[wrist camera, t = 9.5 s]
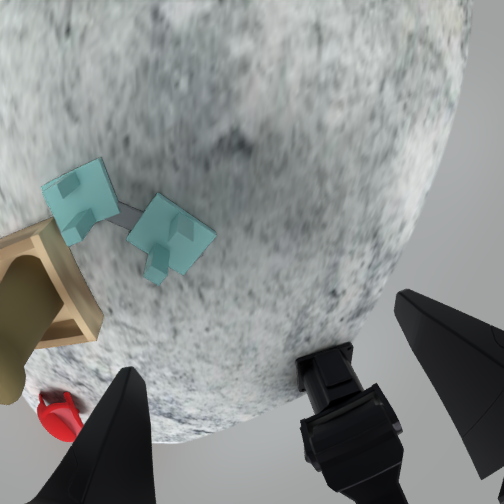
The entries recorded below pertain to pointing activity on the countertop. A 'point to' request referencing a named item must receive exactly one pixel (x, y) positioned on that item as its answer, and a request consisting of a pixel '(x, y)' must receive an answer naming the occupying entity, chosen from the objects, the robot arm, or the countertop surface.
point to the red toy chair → (60, 418)
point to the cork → (23, 320)
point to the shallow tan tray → (57, 283)
